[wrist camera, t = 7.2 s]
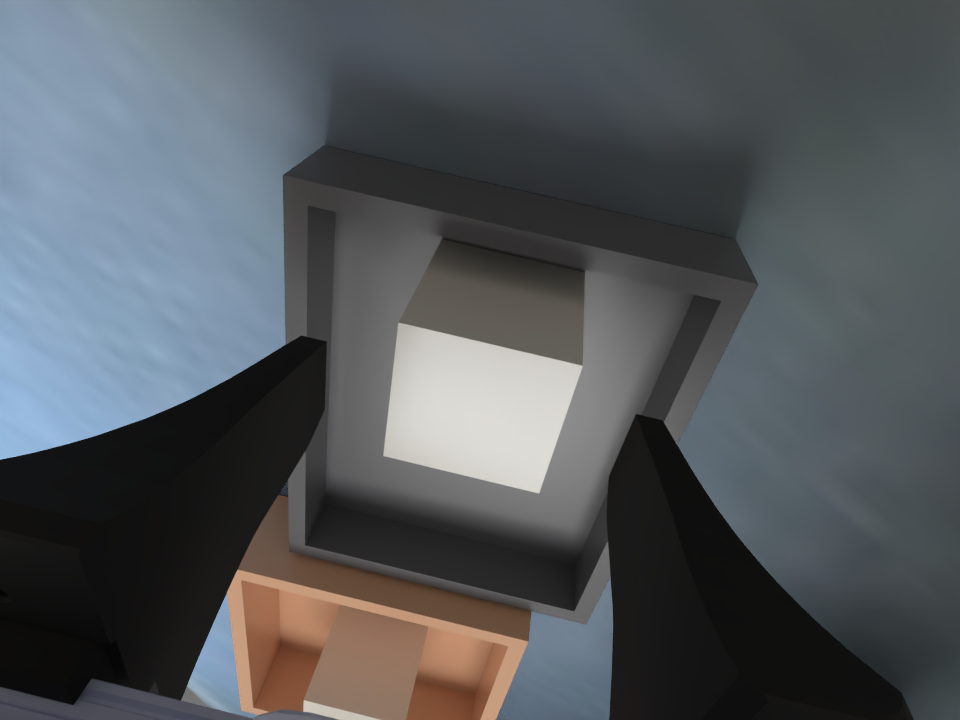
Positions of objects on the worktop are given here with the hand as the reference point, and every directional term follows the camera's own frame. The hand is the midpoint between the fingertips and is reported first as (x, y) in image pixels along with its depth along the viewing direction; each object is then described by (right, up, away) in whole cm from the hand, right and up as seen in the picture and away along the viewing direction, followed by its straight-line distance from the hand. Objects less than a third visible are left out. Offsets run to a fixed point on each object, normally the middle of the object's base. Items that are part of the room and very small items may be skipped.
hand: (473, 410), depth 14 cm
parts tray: (0, 0, +6) cm, 6 cm away
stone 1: (-4, -11, +14) cm, 19 cm away
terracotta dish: (-4, -10, +14) cm, 17 cm away
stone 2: (+1, +2, +4) cm, 4 cm away
